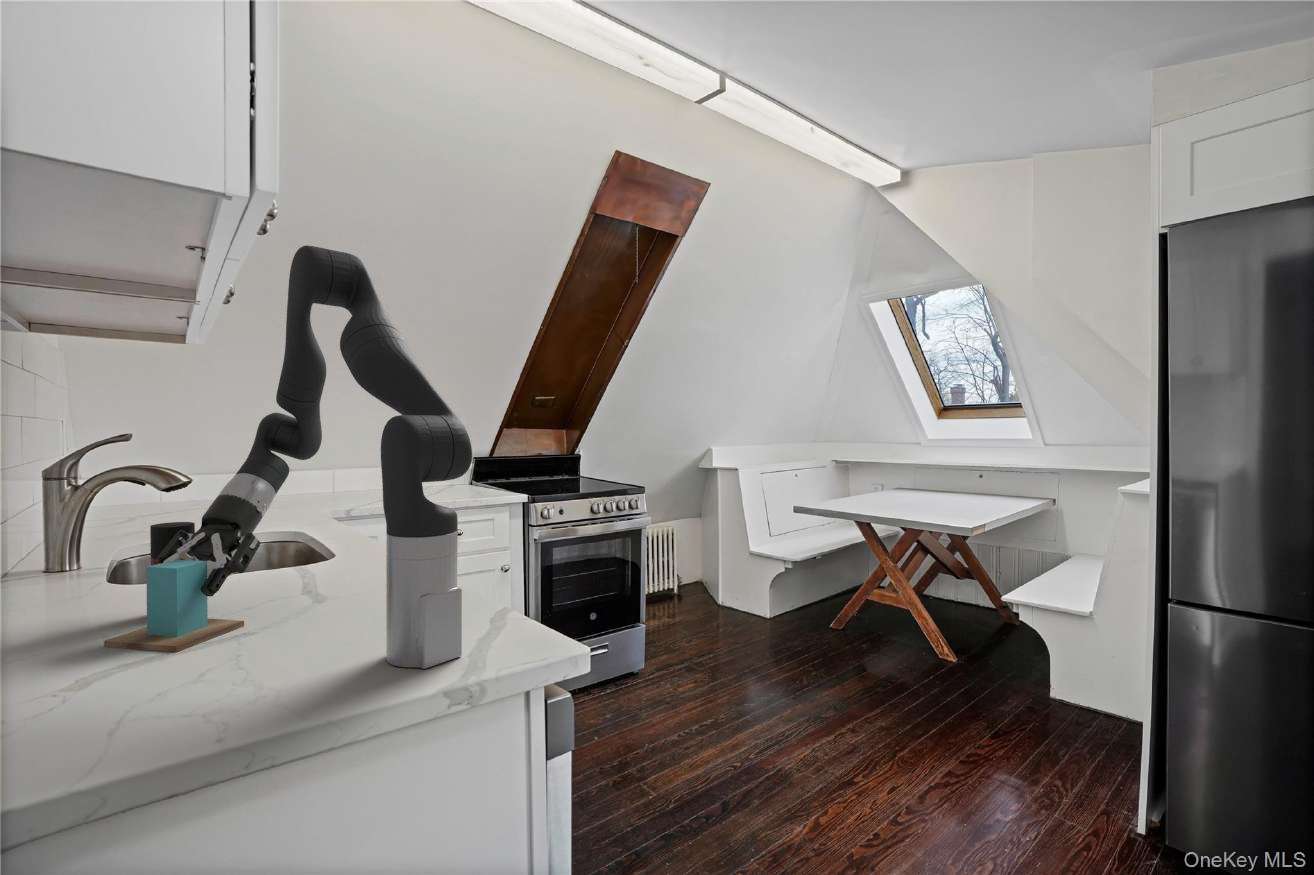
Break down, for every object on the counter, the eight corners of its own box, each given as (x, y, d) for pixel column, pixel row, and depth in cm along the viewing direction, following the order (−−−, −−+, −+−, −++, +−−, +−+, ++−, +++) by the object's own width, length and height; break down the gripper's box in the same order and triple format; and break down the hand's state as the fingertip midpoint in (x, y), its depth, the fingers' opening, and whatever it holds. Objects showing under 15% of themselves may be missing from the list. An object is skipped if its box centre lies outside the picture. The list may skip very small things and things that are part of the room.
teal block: (207, 626, 101) (207, 561, 101) (177, 636, 96) (176, 568, 96) (178, 623, 102) (178, 559, 102) (147, 634, 97) (146, 566, 96)
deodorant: (158, 622, 105) (157, 528, 105) (145, 615, 109) (145, 524, 109) (200, 613, 110) (200, 524, 110) (187, 607, 114) (187, 520, 113)
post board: (244, 625, 104) (243, 576, 103) (176, 651, 92) (176, 596, 92) (178, 621, 106) (177, 573, 105) (103, 646, 94) (103, 591, 94)
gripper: (189, 491, 109) (123, 576, 98) (266, 494, 107) (207, 581, 96) (216, 519, 114) (156, 602, 103) (289, 521, 112) (236, 607, 101)
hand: (181, 592), depth 99 cm, fingers open, 8 cm apart
